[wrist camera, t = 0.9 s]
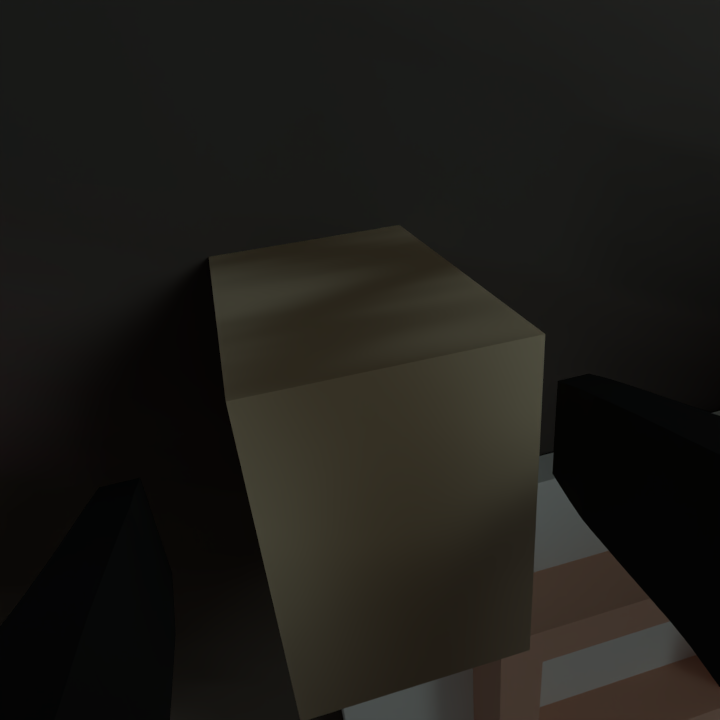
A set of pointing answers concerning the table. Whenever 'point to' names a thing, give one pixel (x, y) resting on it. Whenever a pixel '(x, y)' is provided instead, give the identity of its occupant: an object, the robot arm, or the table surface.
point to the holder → (572, 645)
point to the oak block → (382, 458)
